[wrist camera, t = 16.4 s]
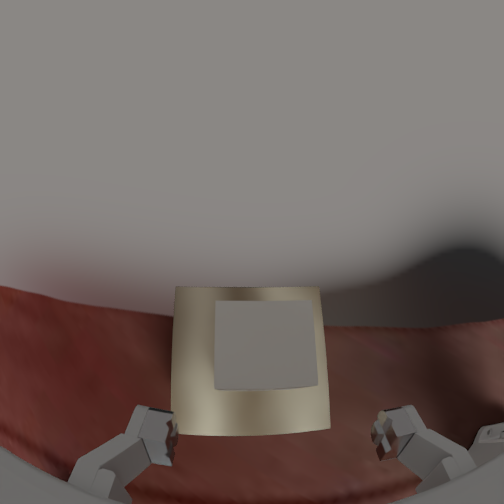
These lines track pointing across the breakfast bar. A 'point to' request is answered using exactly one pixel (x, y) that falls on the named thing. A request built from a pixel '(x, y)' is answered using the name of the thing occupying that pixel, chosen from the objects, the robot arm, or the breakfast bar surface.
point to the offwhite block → (264, 345)
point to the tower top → (238, 402)
